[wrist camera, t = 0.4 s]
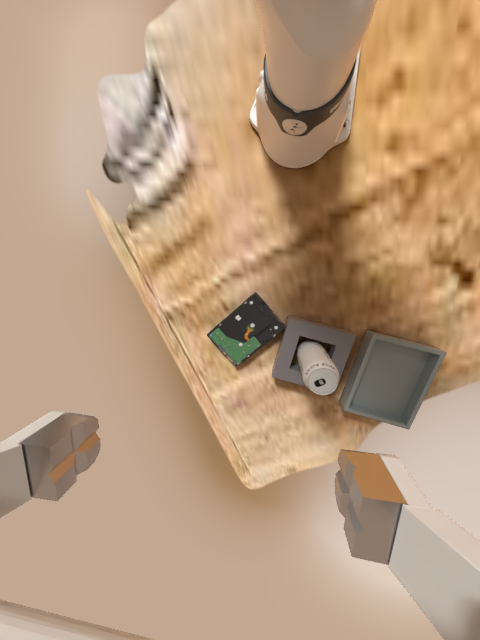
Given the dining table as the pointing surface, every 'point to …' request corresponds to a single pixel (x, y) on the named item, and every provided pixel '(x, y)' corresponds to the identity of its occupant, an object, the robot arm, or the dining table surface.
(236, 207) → the dining table surface
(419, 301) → the dining table surface
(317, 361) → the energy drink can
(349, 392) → the parts tray
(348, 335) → the socket block
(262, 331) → the disk drive
